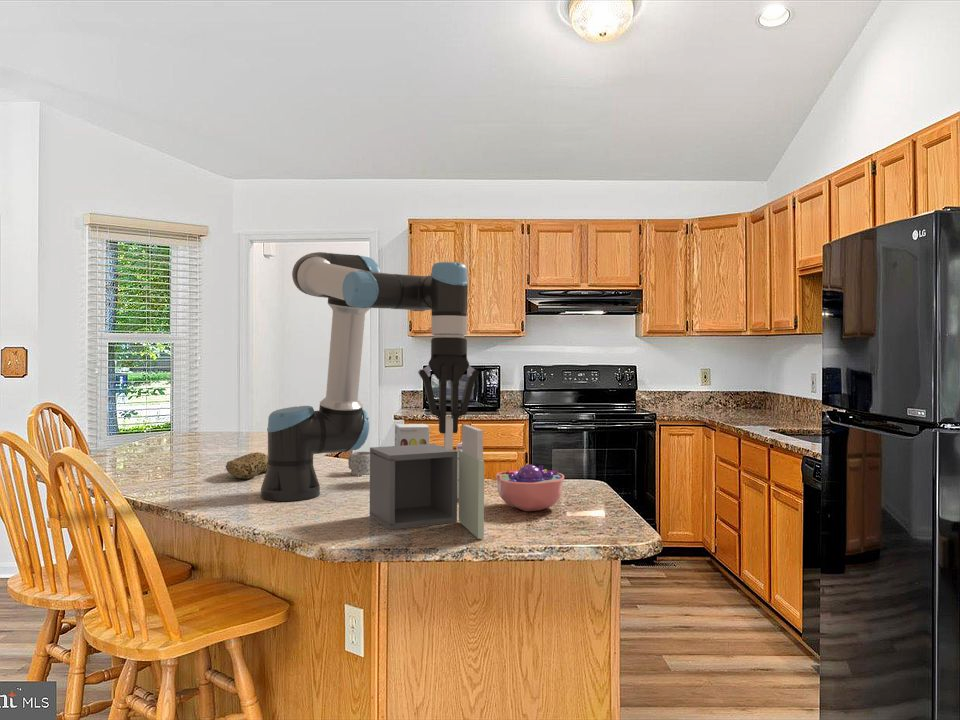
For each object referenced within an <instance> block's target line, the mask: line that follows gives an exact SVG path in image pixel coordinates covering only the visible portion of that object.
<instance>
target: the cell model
mask: <svg viewBox="0 0 960 720" xmlns="http://www.w3.org/2000/svg"><path fill="white" fill-rule="evenodd" d="M543 468H544V465H541V464H540V465H539V466H538V467H537V466H536V465H534V464H524V465H523V466H522V467H520V468H519V469H515V470H514V469H513V470H505V471H499V472H497V473H496V475H495V476H496V485H497V491H498V496H499V497H500V498H501V500H502V501H503V502H504V503H505V504H506V505H508V506H510V507H512V508H516V509H518V510H521V511H523V512H535V511H542V510H545V509H548V508H550V507H552V506H554V505H555V504H556V503H558V501H559V500H560V499H561V497H562V492H563V483H564V480H565V475H564V474H563V473H561V472H558V470H557V469H555V470H550V469H546V468H545V469H543Z"/></svg>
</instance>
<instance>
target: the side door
mask: <svg viewBox="0 0 960 720" xmlns="http://www.w3.org/2000/svg"><path fill="white" fill-rule="evenodd" d="M461 426H462V427H461V430H462V431H461V436H462V439H461V442H462V450H459V499H458V522H459V523H460V524H461V525H462V526H463V527H465V528H466V530H468V531H469V532H470V533H471V534H472V535H473V536H474V537H475V538H476V539H478V540H480V539H481V540H482V539H484V538H485V534H484V533H485V460H484V430H483V429H480V428H478V427H475V426H473V425H470V424H462V425H461Z"/></svg>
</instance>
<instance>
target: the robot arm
mask: <svg viewBox="0 0 960 720" xmlns="http://www.w3.org/2000/svg"><path fill="white" fill-rule="evenodd" d="M291 276H292V281H293V284H294V286H295V288H296V289H298V290H299V291H300V292H301V293H303V294H305V295H307V296H310V297H315V298H316V297H317V298H323V299H324V298H327V305H328V306H329V307H330V309H331V310H332V317H331V331H330V340H329V354H328V357H329V358H328V365H327V366H328V367H327V368H328V369H327V380H326V393H325V397H324V398H322V399H321V400H320V401H319V409H318V410H315V409H314V407H313V406H311V405H302V406H301V405H300V406H296V405H295V406H290V407H284V408H280V409H276V410H274V411H272V412H270V414H269V416H268V417H267V418H268V422H267V429H266V431H267V455H268V469H267V472H265V474H264V478H263V482H262V483H261V484H262V485H261V487H260V498H261V499H263V500H267V501H272V502H274V501H276V502H291V501H292V502H293V501H303V500H309V499H312V498H317V497H318V496H320V495H321V489H320V488H321V486H320V482H319V480H318V476H317V474H316V470H315V467H314V455H318V454H331V453H348V452H352V451H357V450H359V449H360V448H362V446H363V447H364V444H365V443H366V441H367V439H368V436H369V432H370V421H369V419H370V418H369V415H368V412H367V411H366V409H363V403H362V402H361V401H360V400H359V389H360V388H359V387H360V378H361V366H362V354H363V342H364V332H365V331H364V329H365V320H366V319H365V318H366V313H367V312H369V310H371V309H391V310H409V311H413V312H426V311H431V327H430V329H431V332H430V333H431V335H432V336H433V337H432V338H431V339H430V343H431V344H430V360H428V365H427V366H425V367H424V368H422V369H419V370H418V372H417V373H418V375H419V377H420V378H421V380H422V381H423V382H422V383H423V387H424V390H425V395H426V399H427V403H428V408H429V411H430V414H431V415H433V416H435V417H437V418H438V431H439V434H443V447H444V449H445V450H454V434H458V431H459V418H460V417H462V416H466V415H467V414H468V409H469V405H470V401H471V397H472V393H473V389H474V385H475V381H476V379H477V378H478V377H479V375H480V371H479V370H478V369H475V368H474V367H472V366H471V365H470V362H469V360H468V353H467V352H468V339H467V338H466V337H465V336H467V335H468V294H469V293H468V291H469V290H468V288H469V287H468V285H469V281H468V268H467V266H466V265H465V264H464V263H461V262H455V261H441V262H435V263H433V265H431V272H430V275H412V274H401V273H400V274H399V273H386V272H385V273H384V272H381V268H380V267H379V265H378V263H377V262H376V261H375V259H374V258H372V257H369V256H364V255H359V254H345V253H333V252H321V251H318V252H311V253H310V252H309V253H308V254H305V255H303V256H301V257H300V258H299V259H297V261H295V263H294V265H293V268H292V272H291ZM431 371H432V373H433V374H434V376H435V377H436V379H437V380H438V409H437V404H436V399H435V395H434V392H433V386H432V381H431V379H430V377H431V376H432V375H431ZM465 372H466V377H467V378H466V382H465V386H464V390H463V393H462V398H461V402H460V406H459V386H460V385H459V384H460V379H462V377H463V376H464V374H465ZM448 381H450V417H447V385H448Z"/></svg>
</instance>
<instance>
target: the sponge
mask: <svg viewBox="0 0 960 720" xmlns="http://www.w3.org/2000/svg"><path fill="white" fill-rule="evenodd" d="M267 469H268V454H265V453H262V452H251V453H248V454H244V455H242V456H240V457H236V458H234V459H232V460H228V461H227V462H226V465H225V470H226V471H227V473H228V474H230V475H231V476H232V477H234V478H236V479H241V480H248V479H249V480H250V479H252V478H253V479H254V478H255V477H257V476H258V475H259V474H260V473H266V472H267Z"/></svg>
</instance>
